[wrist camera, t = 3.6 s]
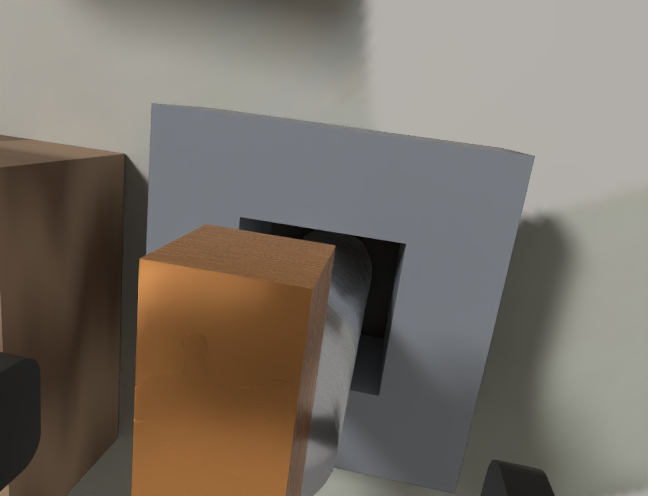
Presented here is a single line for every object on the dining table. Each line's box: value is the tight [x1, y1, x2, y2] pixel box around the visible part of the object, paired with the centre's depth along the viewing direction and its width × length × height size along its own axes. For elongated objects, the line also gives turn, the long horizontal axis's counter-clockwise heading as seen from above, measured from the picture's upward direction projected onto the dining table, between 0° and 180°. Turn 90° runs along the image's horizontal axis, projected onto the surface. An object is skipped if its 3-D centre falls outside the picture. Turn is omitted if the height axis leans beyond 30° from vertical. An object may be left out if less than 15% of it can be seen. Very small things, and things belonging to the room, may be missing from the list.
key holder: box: [146, 103, 535, 493], centre depth 16 cm, size 10×10×4 cm
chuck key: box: [131, 224, 372, 496], centre depth 12 cm, size 7×3×12 cm, turn 173°
